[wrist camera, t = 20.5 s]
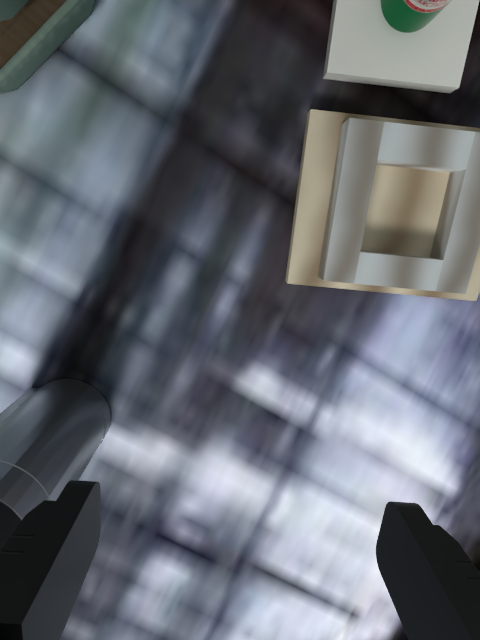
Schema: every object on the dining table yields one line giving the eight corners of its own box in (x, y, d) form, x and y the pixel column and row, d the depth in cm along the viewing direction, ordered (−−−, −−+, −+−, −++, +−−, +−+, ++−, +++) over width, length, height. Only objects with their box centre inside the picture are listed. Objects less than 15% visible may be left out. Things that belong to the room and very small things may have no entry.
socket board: (285, 280, 38) (290, 288, 34) (307, 113, 34) (316, 100, 30) (467, 298, 39) (492, 306, 35) (512, 136, 35) (546, 126, 31)
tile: (322, 78, 33) (326, 72, 32) (345, -87, 30) (351, -102, 28) (449, 93, 34) (459, 87, 32) (485, -68, 30) (498, -82, 29)
